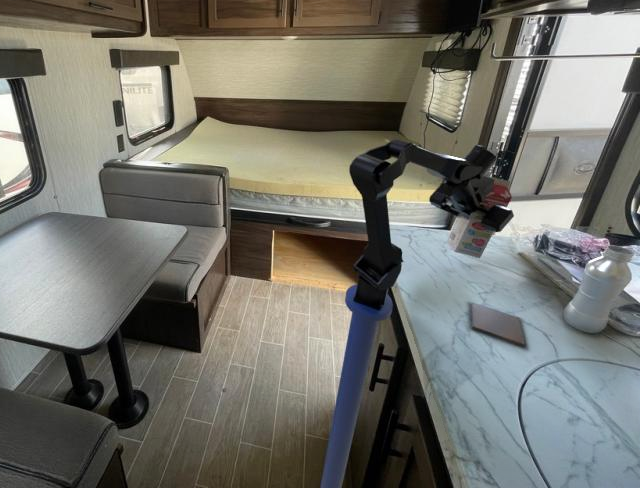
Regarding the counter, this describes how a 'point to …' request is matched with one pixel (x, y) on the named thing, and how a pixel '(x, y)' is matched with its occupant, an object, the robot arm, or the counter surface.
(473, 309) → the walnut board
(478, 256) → the juice carton
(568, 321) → the plastic bottle
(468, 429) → the counter surface
